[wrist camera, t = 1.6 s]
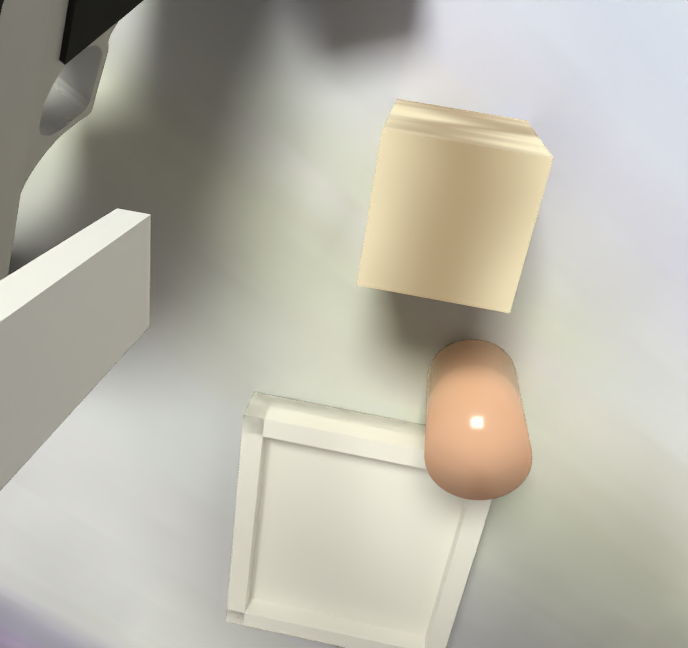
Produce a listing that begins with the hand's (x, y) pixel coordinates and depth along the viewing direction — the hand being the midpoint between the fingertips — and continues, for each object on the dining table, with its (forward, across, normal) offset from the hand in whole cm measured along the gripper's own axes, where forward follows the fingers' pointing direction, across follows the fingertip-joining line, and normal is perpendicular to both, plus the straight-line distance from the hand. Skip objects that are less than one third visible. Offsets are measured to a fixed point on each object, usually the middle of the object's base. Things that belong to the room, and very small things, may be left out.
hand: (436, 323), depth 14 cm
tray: (+14, -1, -19) cm, 23 cm away
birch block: (+14, 0, 0) cm, 14 cm away
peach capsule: (+14, +3, -9) cm, 16 cm away
